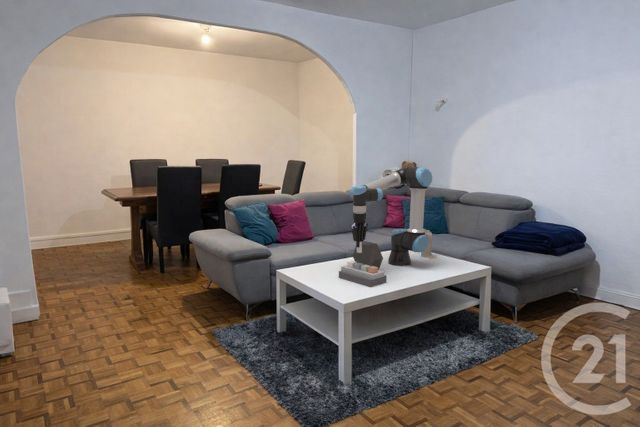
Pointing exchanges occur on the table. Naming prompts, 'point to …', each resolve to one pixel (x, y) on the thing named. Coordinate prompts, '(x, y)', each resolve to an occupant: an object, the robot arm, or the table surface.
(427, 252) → the candle
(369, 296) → the table surface
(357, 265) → the key slate
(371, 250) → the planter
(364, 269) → the key sage
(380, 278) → the console
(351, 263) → the key ivory
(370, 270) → the key terracotta
